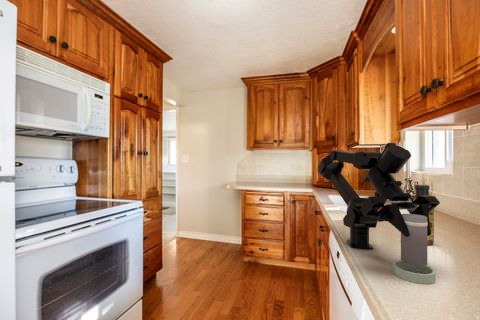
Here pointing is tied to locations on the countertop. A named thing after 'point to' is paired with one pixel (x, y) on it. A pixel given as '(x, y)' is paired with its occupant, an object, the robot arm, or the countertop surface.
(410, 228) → the grey upright cylinder
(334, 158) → the robot arm
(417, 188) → the sauce bottle
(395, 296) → the countertop surface
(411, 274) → the collar ring
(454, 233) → the countertop surface
